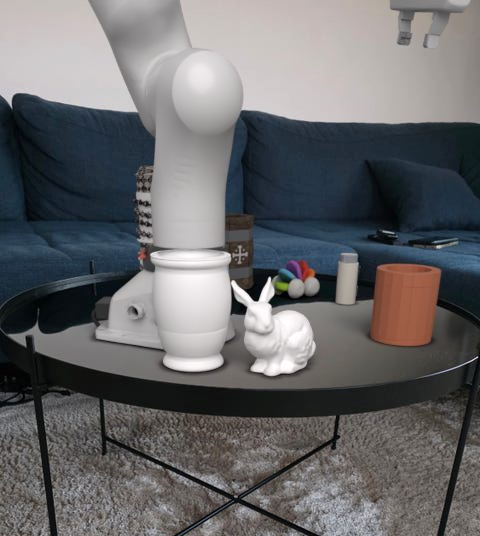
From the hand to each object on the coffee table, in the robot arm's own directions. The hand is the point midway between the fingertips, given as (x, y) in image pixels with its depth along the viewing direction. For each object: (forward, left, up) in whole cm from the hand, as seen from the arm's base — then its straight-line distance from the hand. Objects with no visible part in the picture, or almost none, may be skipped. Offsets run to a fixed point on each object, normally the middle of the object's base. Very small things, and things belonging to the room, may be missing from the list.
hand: (415, 46), depth 94 cm
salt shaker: (-8, +7, -43) cm, 44 cm away
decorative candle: (-44, -2, -43) cm, 62 cm away
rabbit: (-14, -38, -43) cm, 59 cm away
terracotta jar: (+3, -17, -43) cm, 46 cm away
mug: (-39, +16, -43) cm, 60 cm away
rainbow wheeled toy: (-19, +11, -43) cm, 48 cm away
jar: (-25, -39, -43) cm, 63 cm away
